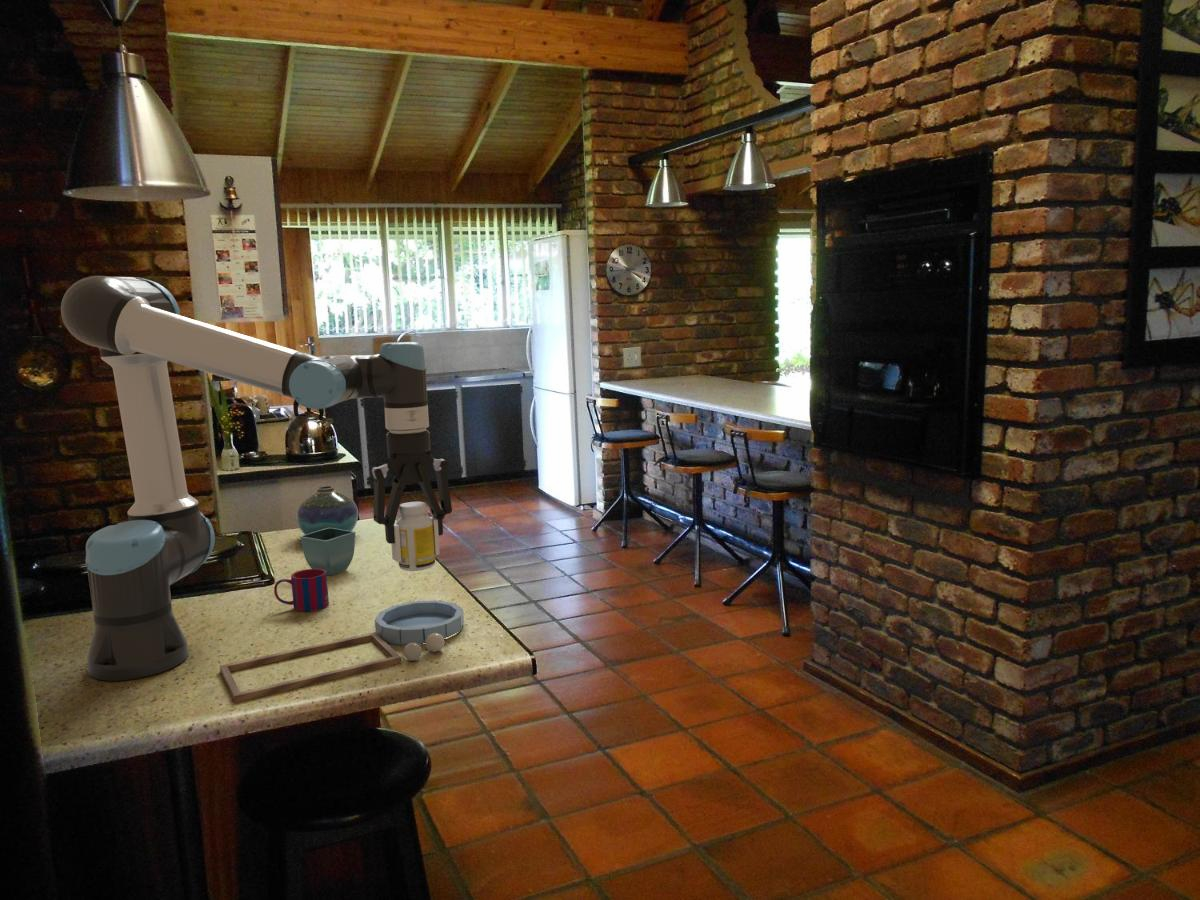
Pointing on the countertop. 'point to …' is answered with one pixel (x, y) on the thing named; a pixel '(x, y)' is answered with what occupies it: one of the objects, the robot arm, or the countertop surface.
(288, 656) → the open rectangular frame
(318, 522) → the vase
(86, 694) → the countertop surface
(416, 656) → the glossy pale sphere
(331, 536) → the flower pot
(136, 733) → the countertop surface
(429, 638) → the pebble
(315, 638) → the countertop surface
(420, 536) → the pill bottle
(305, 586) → the mug
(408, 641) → the bowl
